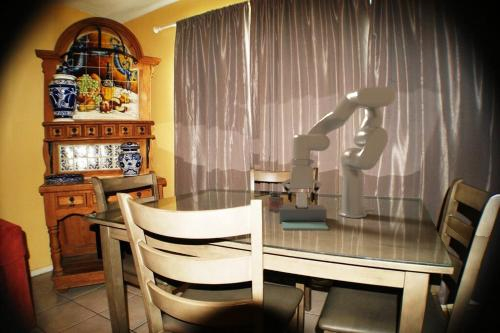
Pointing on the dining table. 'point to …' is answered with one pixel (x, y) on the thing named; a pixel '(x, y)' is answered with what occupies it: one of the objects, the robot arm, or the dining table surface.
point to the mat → (304, 226)
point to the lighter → (275, 201)
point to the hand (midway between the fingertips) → (301, 201)
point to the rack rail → (302, 213)
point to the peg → (301, 201)
